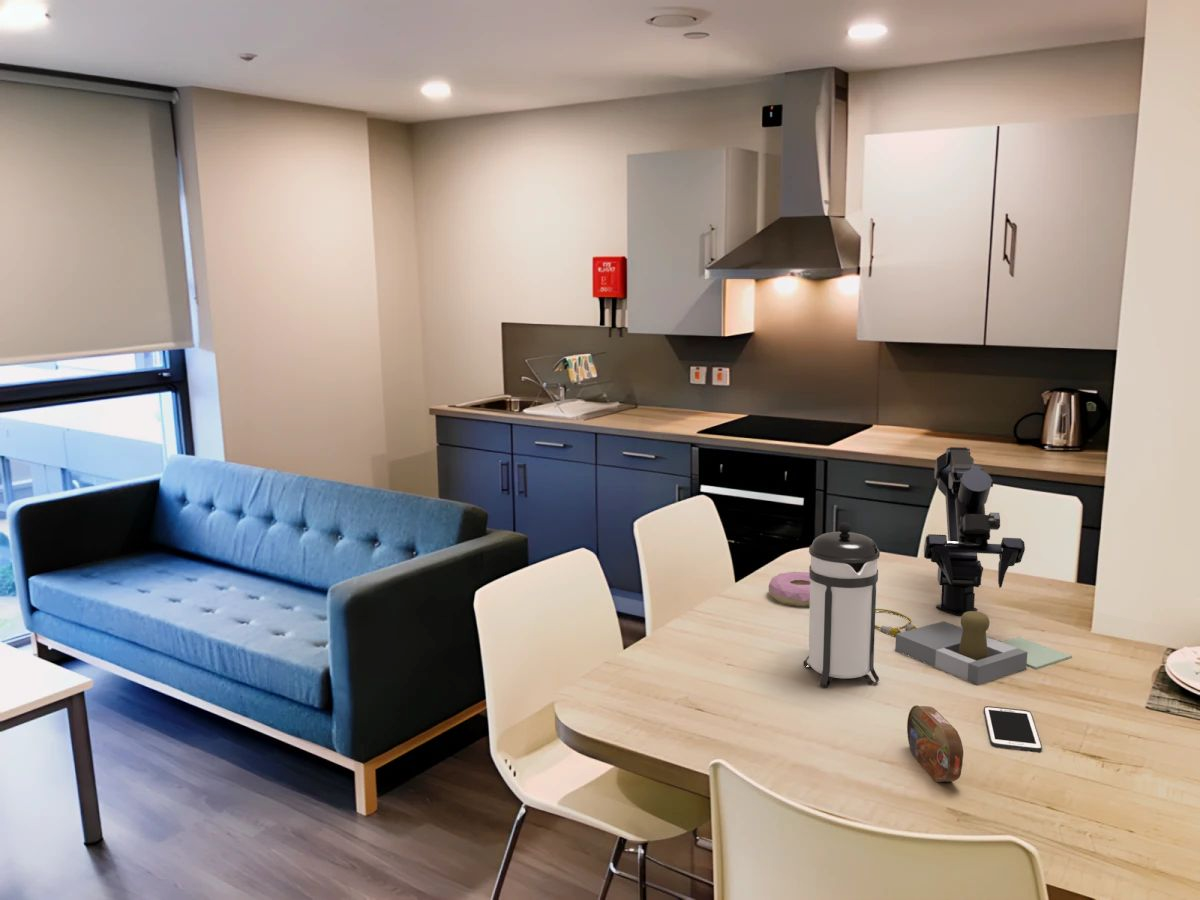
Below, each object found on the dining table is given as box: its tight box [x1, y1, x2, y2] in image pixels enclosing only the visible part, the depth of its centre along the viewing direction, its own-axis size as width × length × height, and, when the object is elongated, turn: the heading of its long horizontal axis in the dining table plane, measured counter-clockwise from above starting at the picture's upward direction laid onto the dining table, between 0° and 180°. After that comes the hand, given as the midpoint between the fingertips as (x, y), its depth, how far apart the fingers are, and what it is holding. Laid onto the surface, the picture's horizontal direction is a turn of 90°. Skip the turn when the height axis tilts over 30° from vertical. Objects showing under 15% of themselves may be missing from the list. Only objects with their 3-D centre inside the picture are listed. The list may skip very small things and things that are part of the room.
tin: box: [906, 705, 964, 783], centre depth 150 cm, size 15×3×8 cm, turn 5°
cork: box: [958, 610, 990, 661], centre depth 187 cm, size 6×6×11 cm
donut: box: [768, 571, 810, 607], centre depth 230 cm, size 16×15×5 cm
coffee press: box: [803, 521, 881, 688], centre depth 184 cm, size 17×16×30 cm
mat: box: [1001, 636, 1073, 670], centre depth 195 cm, size 12×11×1 cm
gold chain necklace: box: [875, 608, 917, 637], centre depth 212 cm, size 12×16×2 cm
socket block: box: [894, 620, 1028, 686], centre depth 192 cm, size 20×14×4 cm
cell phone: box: [983, 705, 1043, 753], centre depth 163 cm, size 8×15×1 cm, turn 163°
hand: (975, 585), depth 193 cm, fingers open, 9 cm apart
